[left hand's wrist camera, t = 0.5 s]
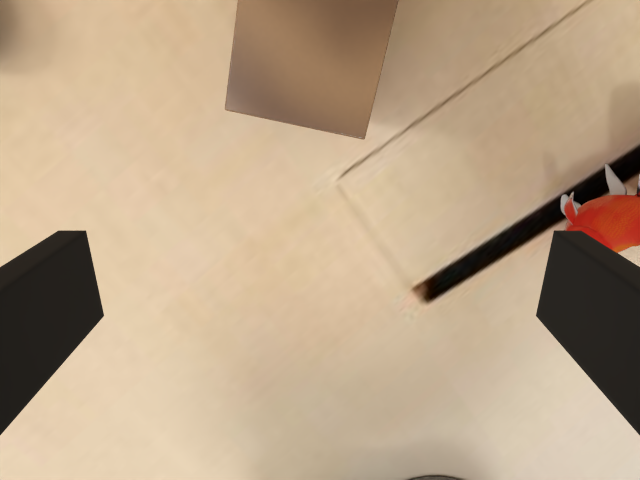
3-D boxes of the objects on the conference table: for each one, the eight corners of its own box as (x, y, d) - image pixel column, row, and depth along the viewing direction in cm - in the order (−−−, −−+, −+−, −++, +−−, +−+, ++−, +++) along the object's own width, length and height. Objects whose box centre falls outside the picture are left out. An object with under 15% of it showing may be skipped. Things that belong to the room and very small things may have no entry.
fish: (511, 175, 34) (652, 221, 26) (632, 70, 37) (788, 84, 30) (523, 265, 41) (639, 322, 33) (625, 169, 44) (751, 201, 36)
